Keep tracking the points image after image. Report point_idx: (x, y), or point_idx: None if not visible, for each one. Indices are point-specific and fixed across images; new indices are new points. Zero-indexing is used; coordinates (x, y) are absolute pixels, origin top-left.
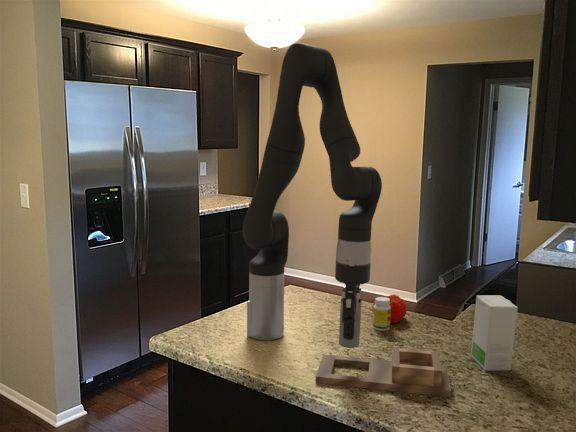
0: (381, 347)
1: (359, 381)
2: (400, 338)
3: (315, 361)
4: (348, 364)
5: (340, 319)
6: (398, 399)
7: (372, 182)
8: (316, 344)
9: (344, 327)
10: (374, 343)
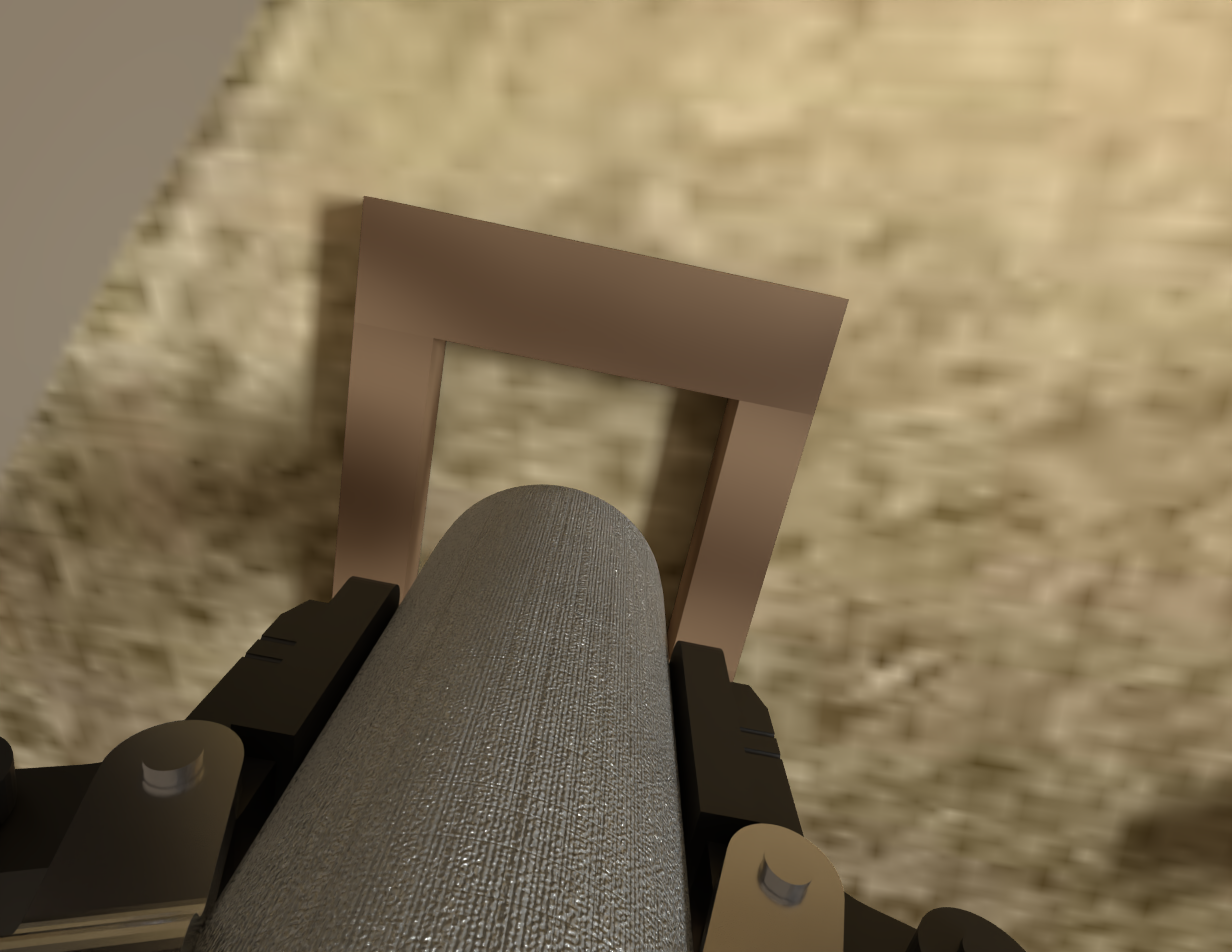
0: (1027, 760)
1: (338, 545)
2: (1163, 896)
3: (814, 222)
4: (704, 498)
5: (422, 679)
6: None
7: None
8: (1204, 254)
9: (282, 674)
10: (1112, 727)
